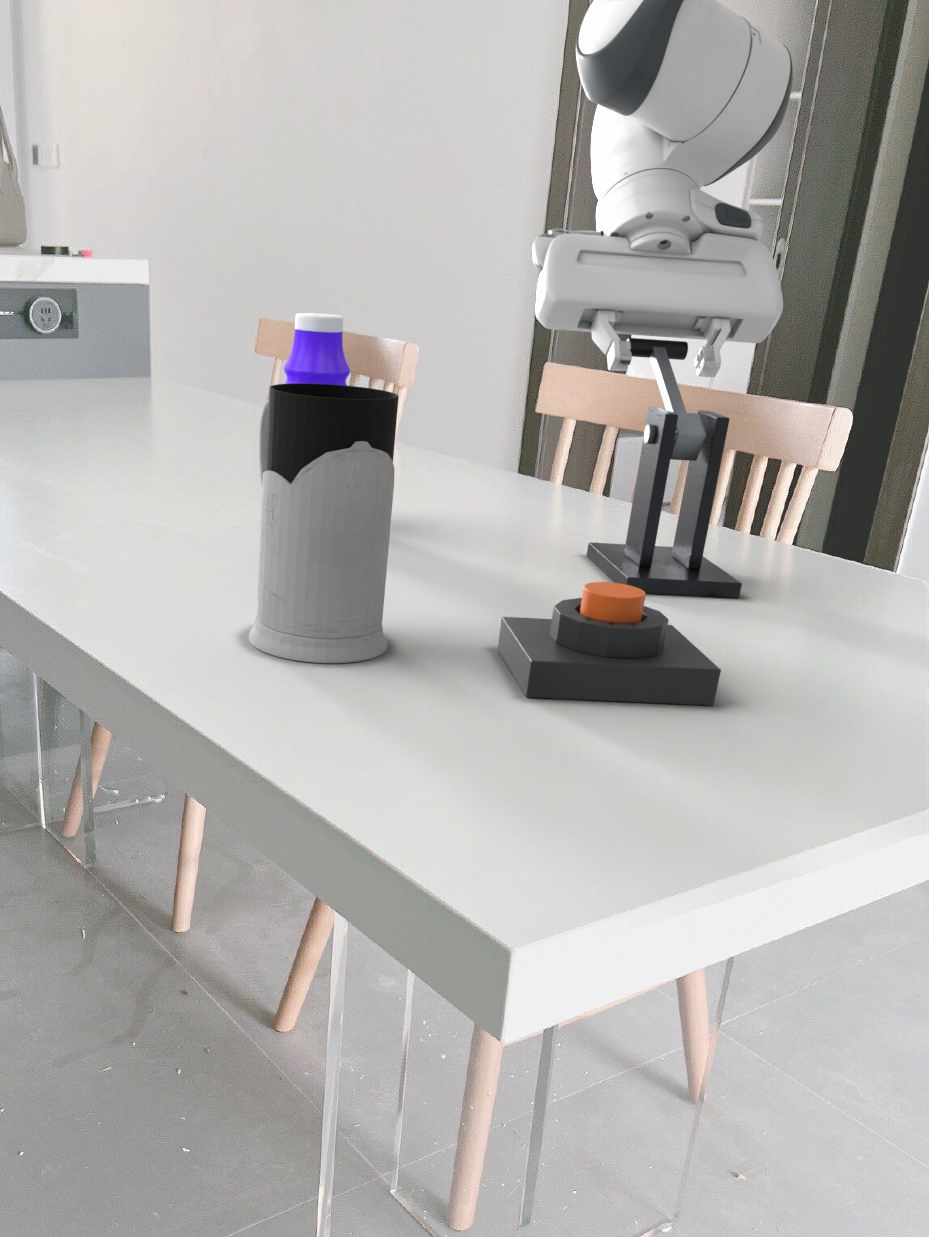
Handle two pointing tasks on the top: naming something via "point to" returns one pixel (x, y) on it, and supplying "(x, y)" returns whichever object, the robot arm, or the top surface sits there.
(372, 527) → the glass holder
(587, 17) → the robot arm
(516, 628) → the switch box
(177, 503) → the top surface
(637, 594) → the button
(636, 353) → the lever
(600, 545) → the bracket
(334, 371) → the bottle
